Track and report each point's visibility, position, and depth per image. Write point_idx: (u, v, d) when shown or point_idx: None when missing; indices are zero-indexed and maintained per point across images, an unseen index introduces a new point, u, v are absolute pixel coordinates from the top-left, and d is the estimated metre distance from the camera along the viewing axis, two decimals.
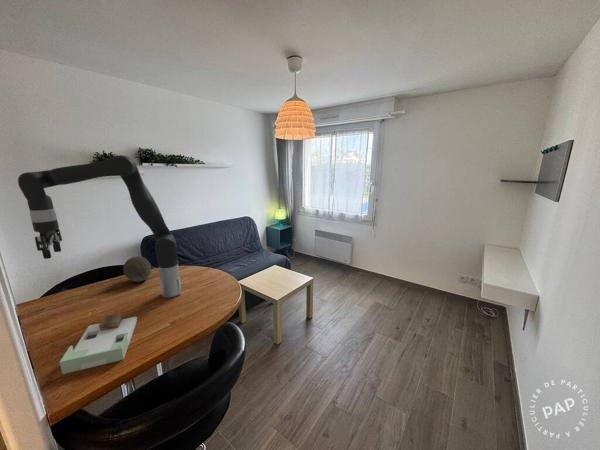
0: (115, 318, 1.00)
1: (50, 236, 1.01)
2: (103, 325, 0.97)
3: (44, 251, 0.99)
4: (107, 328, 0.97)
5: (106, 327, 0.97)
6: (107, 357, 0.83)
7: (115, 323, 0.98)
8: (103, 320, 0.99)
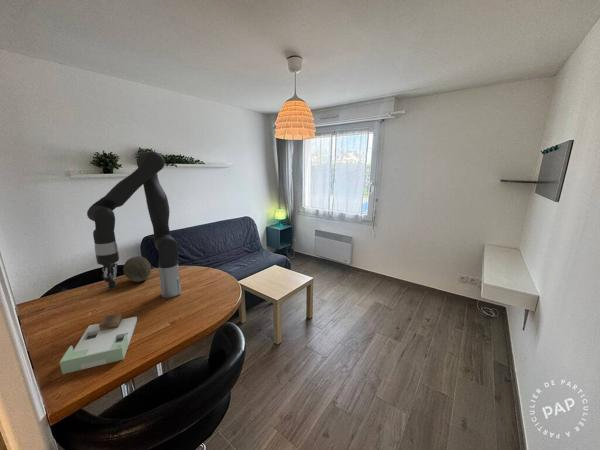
0: (115, 318, 1.00)
1: (112, 268, 1.02)
2: (103, 325, 0.97)
3: (110, 282, 1.03)
4: (107, 328, 0.97)
5: (106, 327, 0.97)
6: (107, 357, 0.83)
7: (115, 323, 0.98)
8: (103, 320, 0.99)
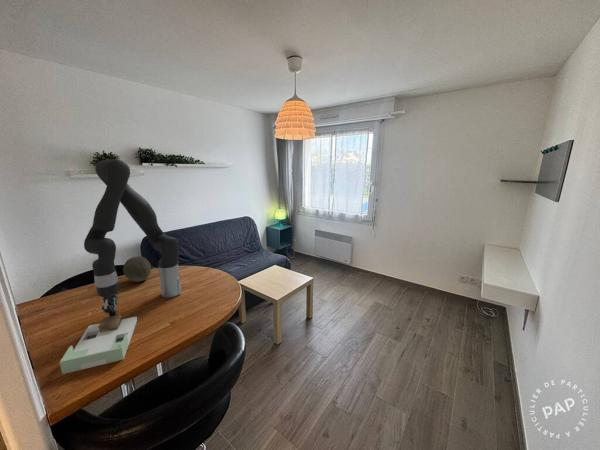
0: (114, 319, 0.99)
1: (112, 299, 1.00)
2: (102, 326, 0.96)
3: (111, 312, 1.01)
4: (106, 329, 0.97)
5: (105, 328, 0.96)
6: (107, 357, 0.83)
7: (114, 324, 0.97)
8: (102, 321, 0.98)
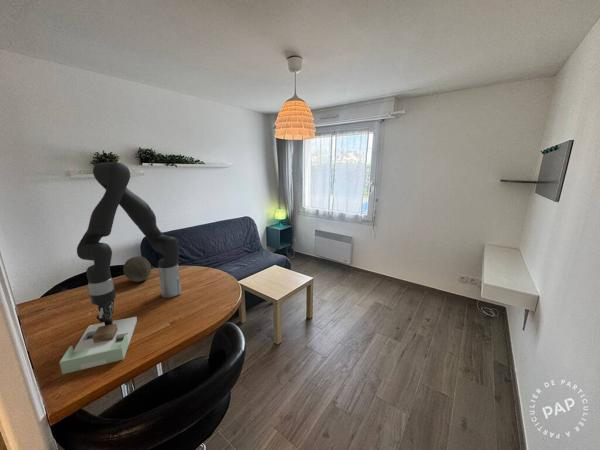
0: (110, 329, 0.94)
1: (108, 307, 0.94)
2: (97, 336, 0.90)
3: (106, 321, 0.96)
4: (101, 340, 0.91)
5: (100, 339, 0.91)
6: (107, 357, 0.83)
7: (110, 335, 0.92)
8: (97, 331, 0.92)
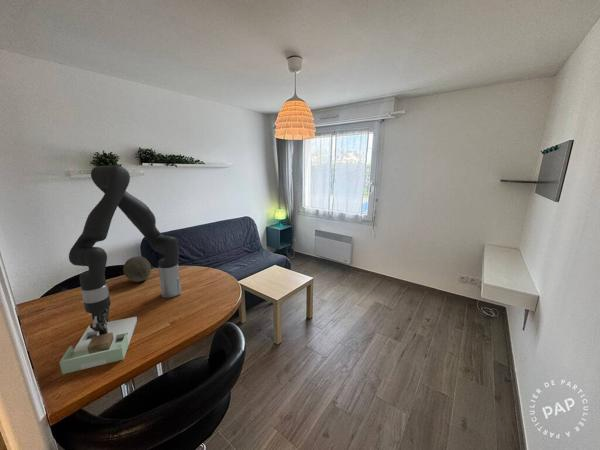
0: (105, 338, 0.89)
1: (102, 315, 0.89)
2: (92, 347, 0.85)
3: (101, 330, 0.91)
4: (97, 350, 0.86)
5: (95, 349, 0.86)
6: (107, 357, 0.83)
7: (106, 344, 0.87)
8: (92, 341, 0.87)
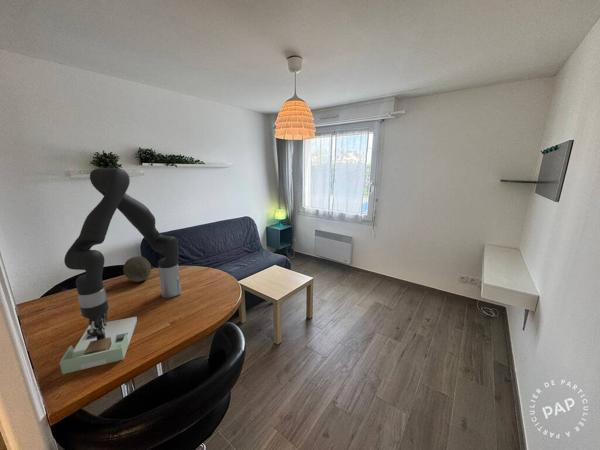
0: (103, 344, 0.86)
1: (100, 320, 0.86)
2: (89, 353, 0.82)
3: None
4: None
5: None
6: (107, 357, 0.83)
7: (103, 350, 0.84)
8: (89, 346, 0.85)
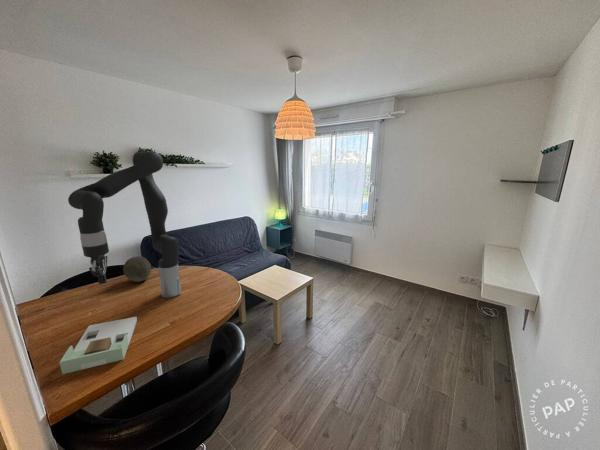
0: (103, 344, 0.86)
1: (101, 261, 0.91)
2: (89, 353, 0.82)
3: (100, 276, 0.93)
4: None
5: None
6: (107, 357, 0.83)
7: (103, 350, 0.84)
8: (89, 346, 0.85)
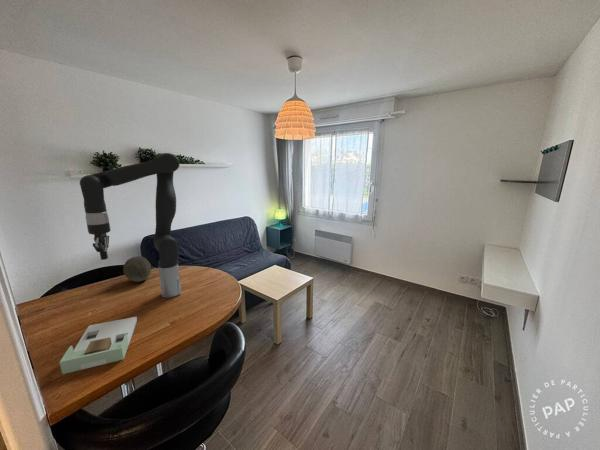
0: (103, 344, 0.86)
1: (103, 238, 1.03)
2: (89, 353, 0.82)
3: (102, 252, 1.04)
4: None
5: None
6: (107, 357, 0.83)
7: (103, 350, 0.84)
8: (89, 346, 0.85)
